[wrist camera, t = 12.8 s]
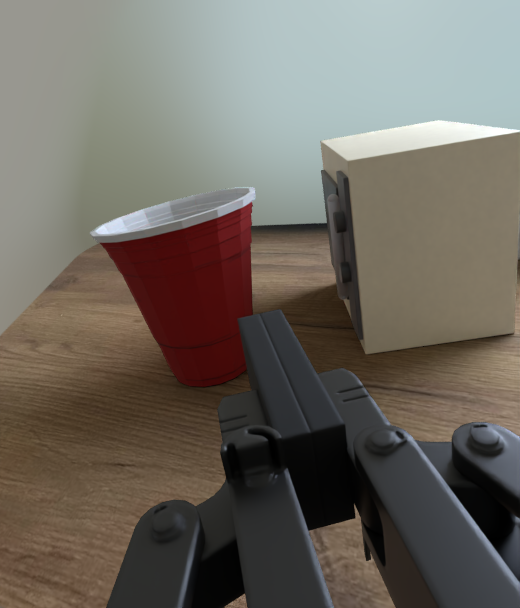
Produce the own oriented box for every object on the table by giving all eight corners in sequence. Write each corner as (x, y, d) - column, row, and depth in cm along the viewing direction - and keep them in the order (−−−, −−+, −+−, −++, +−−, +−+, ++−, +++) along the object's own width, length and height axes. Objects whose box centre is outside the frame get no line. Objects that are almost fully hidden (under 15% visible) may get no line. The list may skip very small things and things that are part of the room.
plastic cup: (197, 325, 42) (164, 188, 38) (309, 338, 37) (286, 178, 32) (105, 394, 34) (48, 229, 30) (231, 424, 29) (185, 226, 24)
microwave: (350, 356, 33) (330, 163, 28) (325, 284, 46) (308, 142, 41) (514, 333, 33) (523, 130, 28) (442, 266, 45) (439, 119, 40)
